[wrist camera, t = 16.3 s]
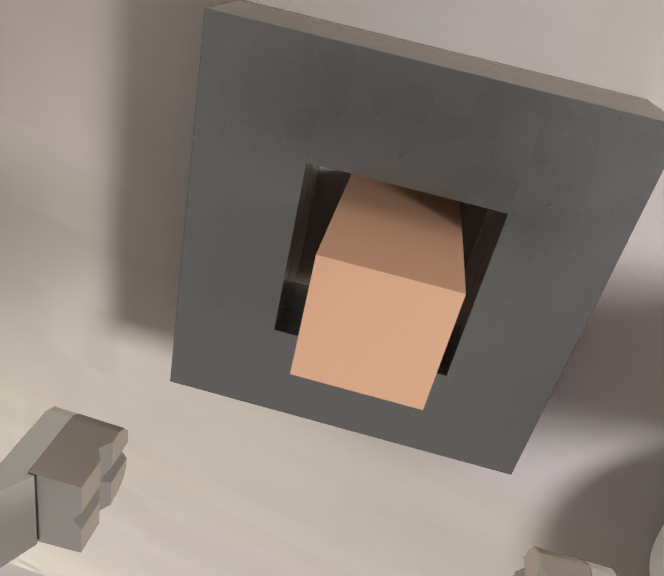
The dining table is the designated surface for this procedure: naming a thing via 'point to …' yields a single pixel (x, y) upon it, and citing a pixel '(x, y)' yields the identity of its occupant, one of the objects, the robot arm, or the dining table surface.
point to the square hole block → (414, 173)
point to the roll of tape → (657, 556)
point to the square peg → (383, 293)
